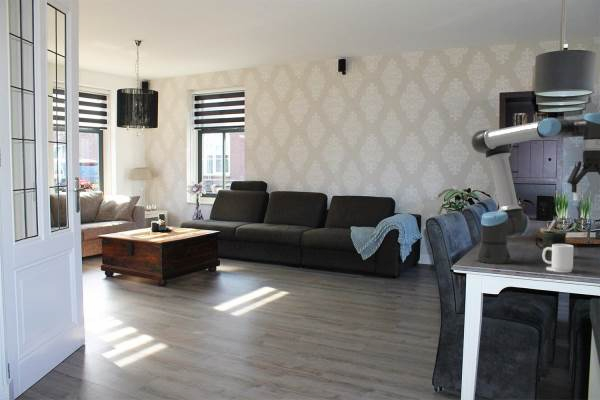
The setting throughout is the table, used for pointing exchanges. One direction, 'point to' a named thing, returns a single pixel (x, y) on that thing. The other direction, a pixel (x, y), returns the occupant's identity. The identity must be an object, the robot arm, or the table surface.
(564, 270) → the saucer
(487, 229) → the robot arm
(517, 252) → the table surface
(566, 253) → the cup
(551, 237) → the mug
